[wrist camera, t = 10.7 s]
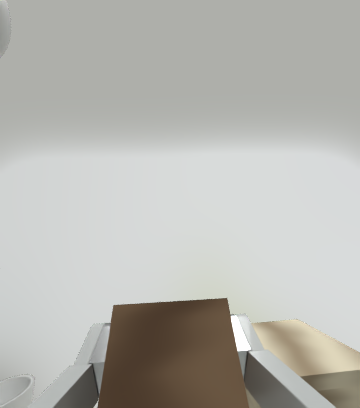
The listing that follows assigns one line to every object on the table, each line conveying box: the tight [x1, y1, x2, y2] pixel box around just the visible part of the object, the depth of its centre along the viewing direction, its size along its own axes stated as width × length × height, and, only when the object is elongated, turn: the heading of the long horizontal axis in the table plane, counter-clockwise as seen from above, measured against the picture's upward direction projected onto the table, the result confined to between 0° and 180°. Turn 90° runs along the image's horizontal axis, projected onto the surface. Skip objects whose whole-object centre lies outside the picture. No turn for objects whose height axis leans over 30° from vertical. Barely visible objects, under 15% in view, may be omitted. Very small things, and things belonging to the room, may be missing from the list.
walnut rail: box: [98, 298, 249, 408], centre depth 13 cm, size 4×20×4 cm, turn 3°
